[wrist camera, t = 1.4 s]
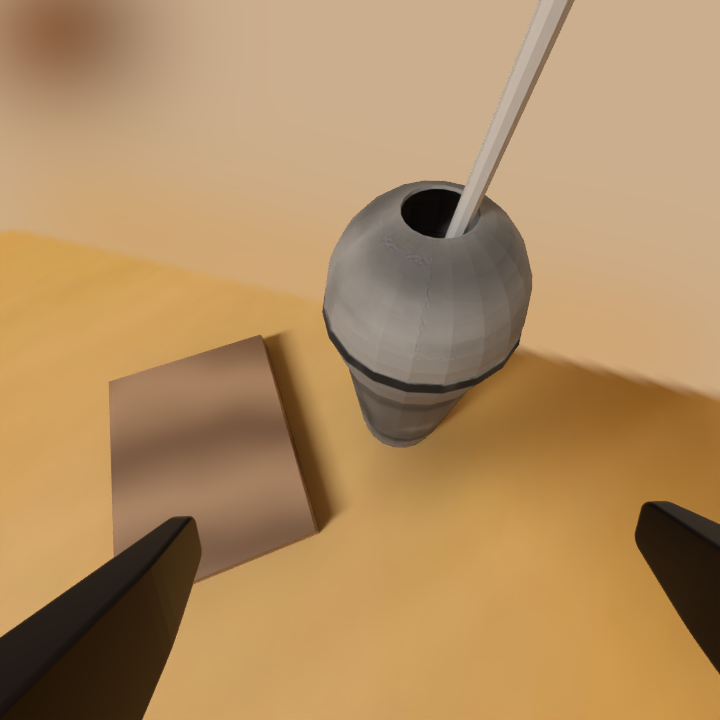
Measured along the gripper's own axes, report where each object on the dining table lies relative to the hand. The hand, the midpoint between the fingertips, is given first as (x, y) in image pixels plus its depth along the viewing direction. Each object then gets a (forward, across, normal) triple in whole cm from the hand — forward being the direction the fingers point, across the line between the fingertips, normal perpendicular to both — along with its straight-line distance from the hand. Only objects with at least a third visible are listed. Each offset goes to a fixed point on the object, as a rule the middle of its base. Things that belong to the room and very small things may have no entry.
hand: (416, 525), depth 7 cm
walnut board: (+13, +11, +7) cm, 18 cm away
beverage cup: (+15, -1, +5) cm, 16 cm away
